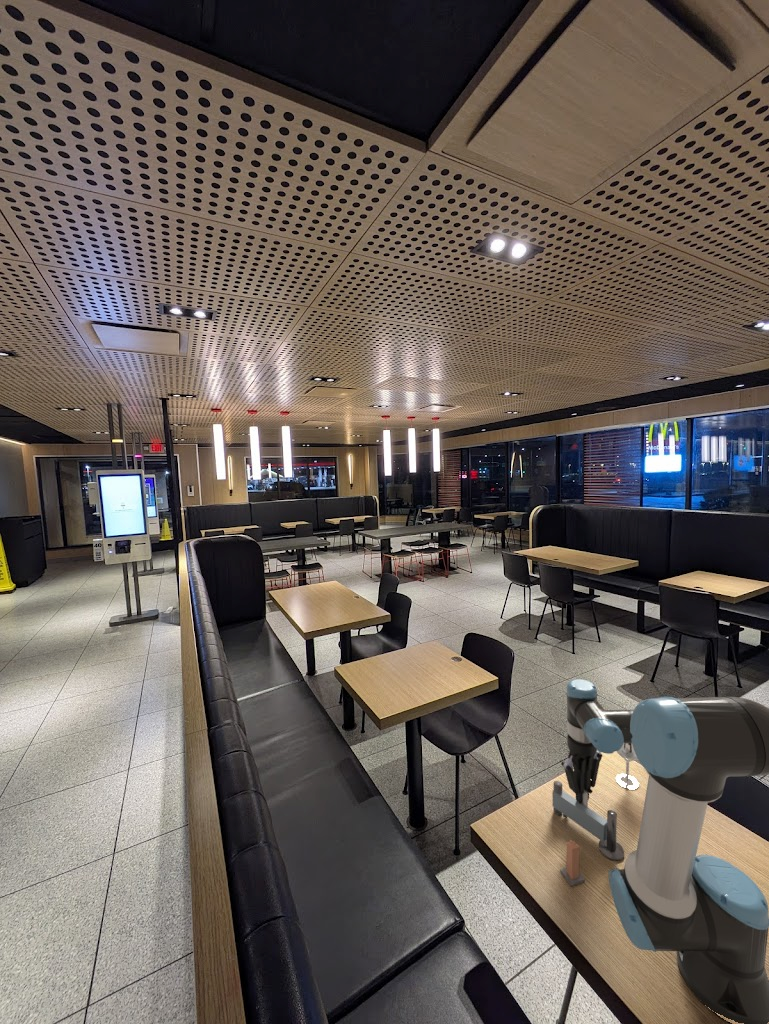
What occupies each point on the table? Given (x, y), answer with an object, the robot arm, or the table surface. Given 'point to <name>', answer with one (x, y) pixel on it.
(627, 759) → the wineglass
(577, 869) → the post
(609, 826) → the hinge post
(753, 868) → the table surface
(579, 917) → the table surface
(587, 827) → the gate
